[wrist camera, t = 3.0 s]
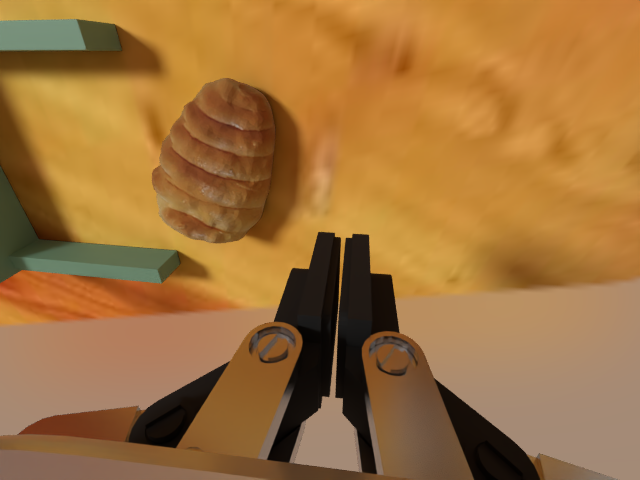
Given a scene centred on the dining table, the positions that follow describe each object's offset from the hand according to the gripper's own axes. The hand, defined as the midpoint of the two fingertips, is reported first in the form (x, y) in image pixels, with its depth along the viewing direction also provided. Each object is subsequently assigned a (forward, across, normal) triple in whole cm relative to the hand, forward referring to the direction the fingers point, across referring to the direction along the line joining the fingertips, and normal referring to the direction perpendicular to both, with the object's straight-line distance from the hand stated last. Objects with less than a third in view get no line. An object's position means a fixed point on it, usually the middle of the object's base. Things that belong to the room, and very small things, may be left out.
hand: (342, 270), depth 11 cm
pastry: (+10, +8, 0) cm, 13 cm away
